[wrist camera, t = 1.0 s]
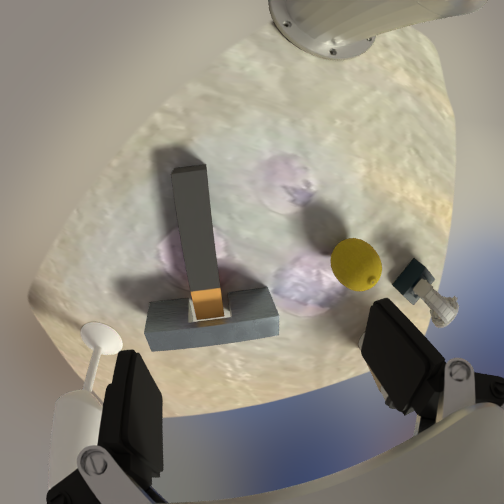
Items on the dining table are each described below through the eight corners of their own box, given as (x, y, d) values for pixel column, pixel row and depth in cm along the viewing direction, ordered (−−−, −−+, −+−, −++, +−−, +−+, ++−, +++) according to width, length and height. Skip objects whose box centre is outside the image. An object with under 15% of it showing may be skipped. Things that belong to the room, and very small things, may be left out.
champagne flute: (130, 352, 35) (116, 510, 14) (94, 357, 35) (68, 500, 14) (109, 318, 32) (72, 492, 11) (72, 325, 31) (26, 478, 10)
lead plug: (174, 168, 26) (170, 174, 23) (206, 164, 26) (206, 169, 23) (196, 303, 33) (196, 319, 30) (221, 299, 34) (224, 316, 31)
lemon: (323, 229, 32) (356, 262, 25) (361, 227, 33) (398, 256, 26) (318, 270, 34) (346, 308, 27) (355, 265, 35) (387, 299, 28)
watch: (407, 298, 41) (445, 339, 31) (386, 280, 38) (429, 324, 28) (427, 274, 39) (468, 310, 30) (409, 251, 36) (457, 291, 27)
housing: (149, 302, 32) (144, 333, 27) (267, 287, 34) (279, 315, 29) (155, 320, 33) (151, 351, 28) (267, 305, 35) (278, 335, 30)
